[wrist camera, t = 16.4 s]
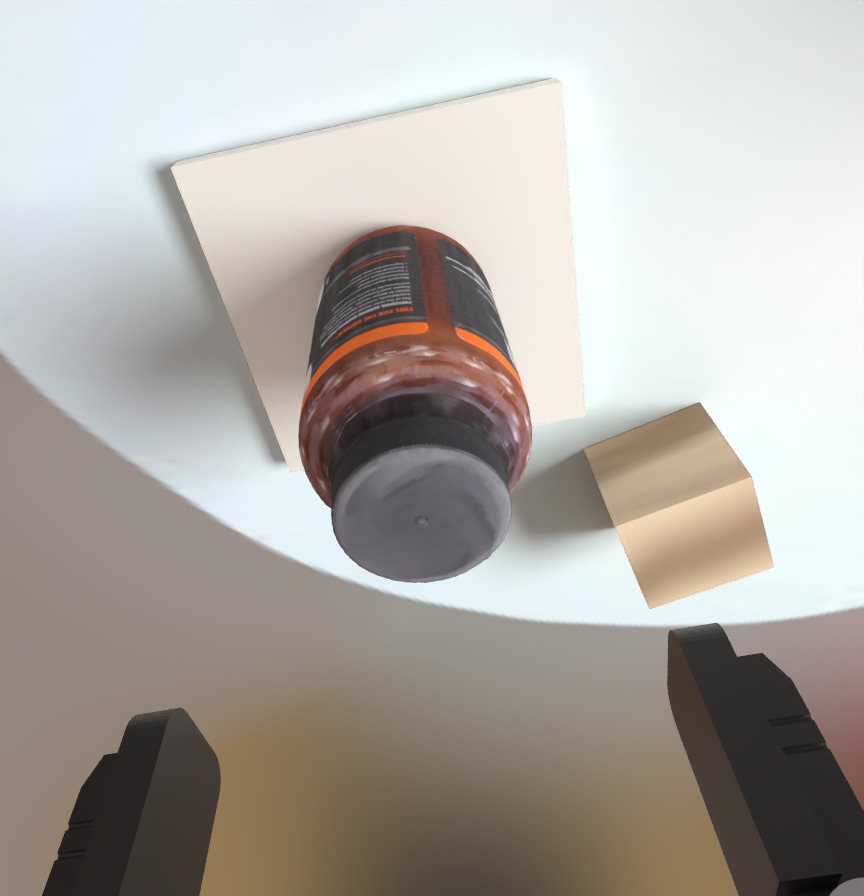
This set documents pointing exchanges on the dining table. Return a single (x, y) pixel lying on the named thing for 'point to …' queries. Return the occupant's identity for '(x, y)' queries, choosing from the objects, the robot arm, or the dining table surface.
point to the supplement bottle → (413, 407)
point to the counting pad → (391, 204)
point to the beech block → (681, 505)
